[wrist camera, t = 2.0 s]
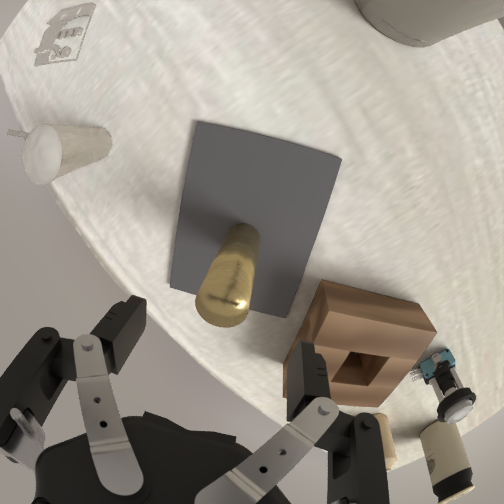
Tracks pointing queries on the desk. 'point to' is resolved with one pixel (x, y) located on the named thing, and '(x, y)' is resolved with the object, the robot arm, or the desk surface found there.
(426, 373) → the push button
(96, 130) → the milkshake
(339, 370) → the socket block
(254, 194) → the mat
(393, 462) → the candle
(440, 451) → the travel mug
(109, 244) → the desk surface
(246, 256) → the pin
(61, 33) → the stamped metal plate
